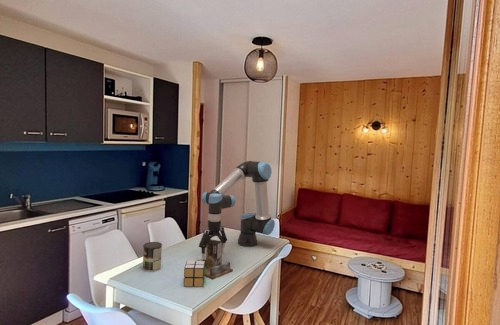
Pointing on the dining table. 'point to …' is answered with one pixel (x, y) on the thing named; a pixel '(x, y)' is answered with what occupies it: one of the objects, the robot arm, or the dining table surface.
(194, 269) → the puzzle cube
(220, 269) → the rail dock
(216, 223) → the robot arm
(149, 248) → the coffee can
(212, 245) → the coffee box
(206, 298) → the dining table surface
